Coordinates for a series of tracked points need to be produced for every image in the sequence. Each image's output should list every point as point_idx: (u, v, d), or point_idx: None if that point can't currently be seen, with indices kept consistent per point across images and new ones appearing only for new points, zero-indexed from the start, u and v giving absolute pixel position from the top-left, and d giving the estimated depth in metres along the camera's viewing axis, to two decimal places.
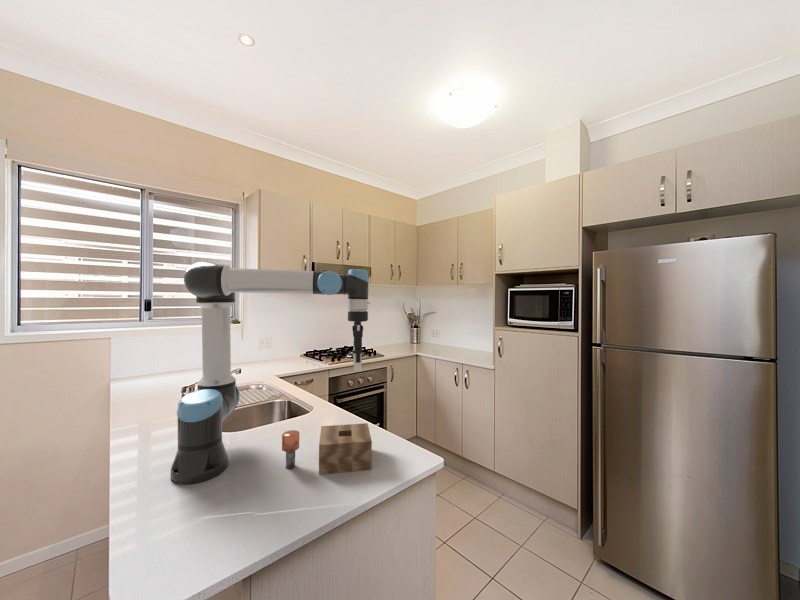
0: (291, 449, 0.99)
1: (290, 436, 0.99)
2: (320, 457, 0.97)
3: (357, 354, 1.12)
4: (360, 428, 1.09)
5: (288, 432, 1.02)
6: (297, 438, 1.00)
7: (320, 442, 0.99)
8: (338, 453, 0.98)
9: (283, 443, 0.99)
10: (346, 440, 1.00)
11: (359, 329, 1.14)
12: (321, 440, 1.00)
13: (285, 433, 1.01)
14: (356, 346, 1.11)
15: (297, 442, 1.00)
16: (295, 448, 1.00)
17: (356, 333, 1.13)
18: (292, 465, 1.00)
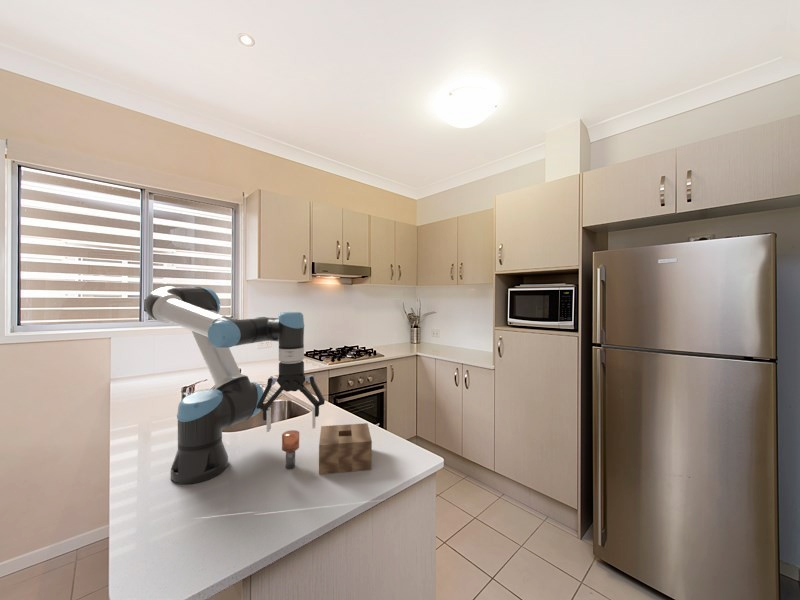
0: (291, 449, 0.99)
1: (290, 436, 0.99)
2: (320, 457, 0.97)
3: None
4: (360, 428, 1.09)
5: (288, 432, 1.02)
6: (297, 438, 1.00)
7: (320, 442, 0.99)
8: (338, 453, 0.98)
9: (283, 443, 0.99)
10: (346, 440, 1.00)
11: None
12: (321, 440, 1.00)
13: (285, 433, 1.01)
14: None
15: (297, 442, 1.00)
16: (295, 448, 1.00)
17: None
18: (292, 465, 1.00)
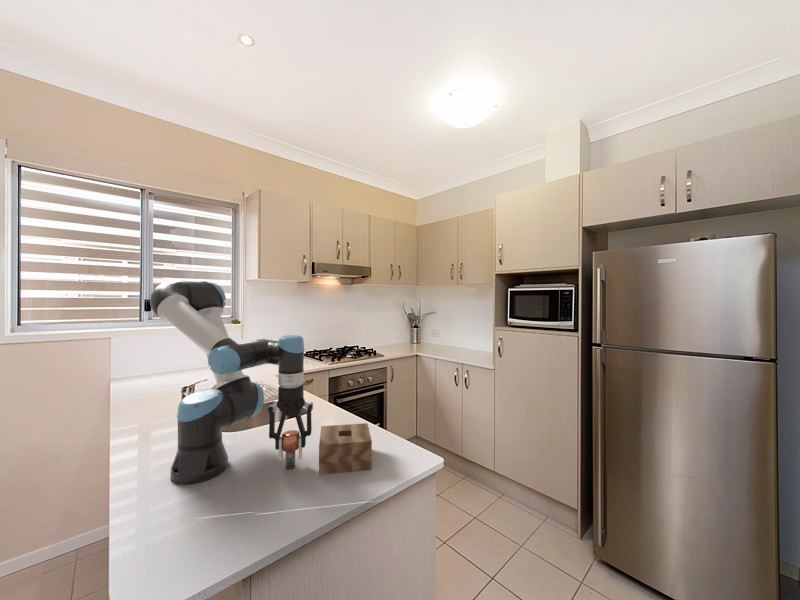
0: (291, 449, 0.99)
1: (290, 436, 0.99)
2: (320, 457, 0.97)
3: None
4: (360, 428, 1.09)
5: (288, 432, 1.02)
6: (297, 438, 1.00)
7: (320, 442, 0.99)
8: (338, 453, 0.98)
9: (283, 443, 0.99)
10: (346, 440, 1.00)
11: None
12: (321, 440, 1.00)
13: (285, 433, 1.01)
14: None
15: (297, 442, 1.00)
16: (295, 448, 1.00)
17: None
18: (292, 465, 1.00)
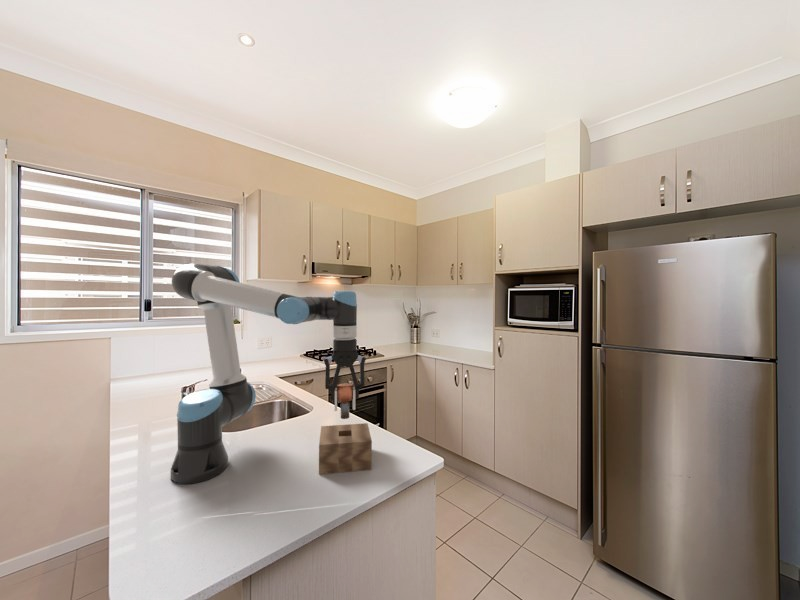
0: (346, 399, 1.03)
1: (345, 387, 1.03)
2: (320, 457, 0.97)
3: (331, 390, 1.04)
4: (360, 428, 1.09)
5: (342, 384, 1.06)
6: (352, 389, 1.04)
7: (320, 442, 0.99)
8: (338, 453, 0.98)
9: (338, 393, 1.03)
10: (346, 440, 1.00)
11: None
12: (321, 440, 1.00)
13: (339, 385, 1.05)
14: None
15: (351, 393, 1.04)
16: (350, 398, 1.03)
17: None
18: (347, 415, 1.04)
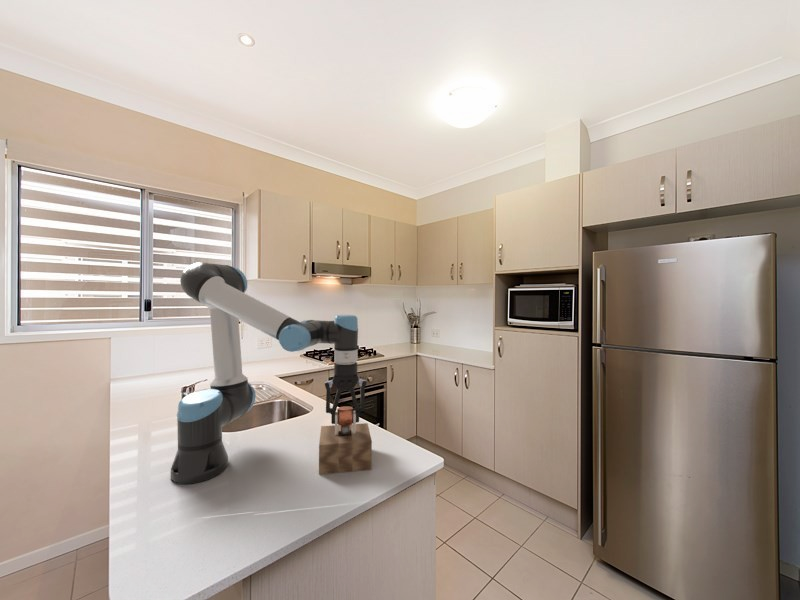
0: (347, 423, 1.03)
1: (346, 411, 1.04)
2: (320, 457, 0.97)
3: None
4: (360, 428, 1.09)
5: (342, 408, 1.06)
6: (352, 413, 1.04)
7: (320, 442, 0.99)
8: (338, 453, 0.98)
9: (339, 418, 1.03)
10: (346, 440, 1.00)
11: None
12: (321, 440, 1.00)
13: (340, 408, 1.06)
14: None
15: (352, 417, 1.05)
16: (350, 422, 1.04)
17: None
18: None
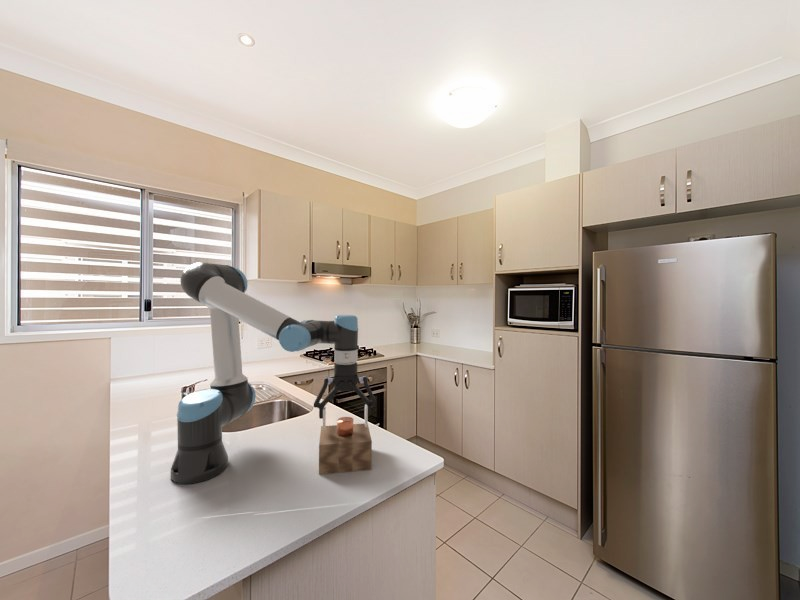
0: (347, 434, 1.03)
1: (346, 422, 1.04)
2: (320, 457, 0.97)
3: (319, 408, 1.04)
4: (360, 428, 1.09)
5: (342, 418, 1.06)
6: (352, 424, 1.05)
7: (320, 442, 0.99)
8: (338, 453, 0.98)
9: (339, 428, 1.03)
10: (346, 440, 1.00)
11: (324, 382, 1.04)
12: (321, 440, 1.00)
13: (340, 419, 1.06)
14: (316, 399, 1.04)
15: (352, 428, 1.05)
16: (350, 433, 1.04)
17: (322, 386, 1.05)
18: None
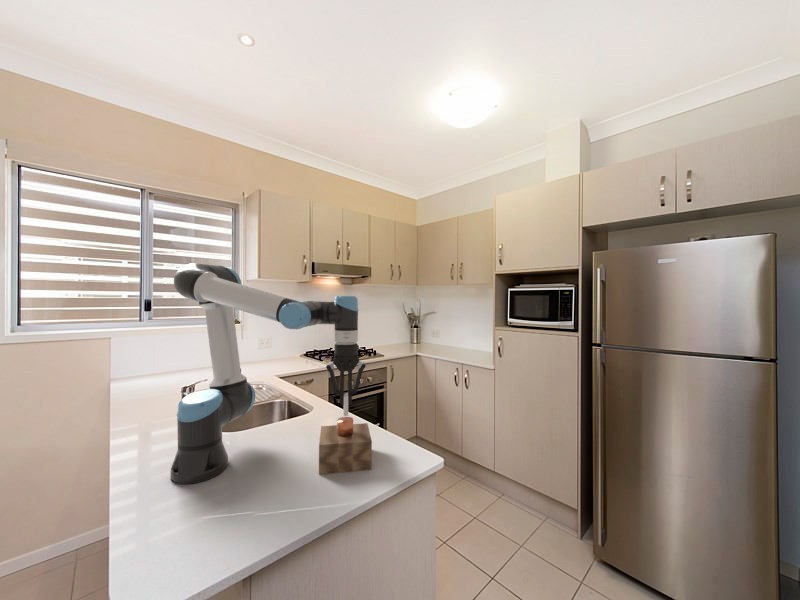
0: (347, 434, 1.03)
1: (346, 422, 1.04)
2: (320, 457, 0.97)
3: None
4: (360, 428, 1.09)
5: (342, 418, 1.06)
6: (352, 424, 1.05)
7: (320, 442, 0.99)
8: (338, 453, 0.98)
9: (339, 428, 1.03)
10: (346, 440, 1.00)
11: None
12: (321, 440, 1.00)
13: (340, 419, 1.06)
14: None
15: (352, 428, 1.05)
16: (350, 433, 1.04)
17: None
18: None
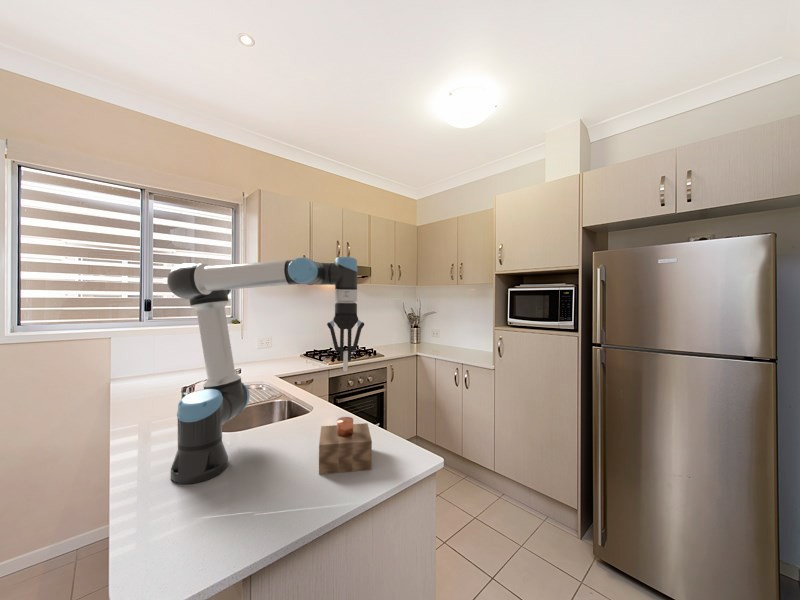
0: (347, 434, 1.03)
1: (346, 422, 1.04)
2: (320, 457, 0.97)
3: None
4: (360, 428, 1.09)
5: (342, 418, 1.06)
6: (352, 424, 1.05)
7: (320, 442, 0.99)
8: (338, 453, 0.98)
9: (339, 428, 1.03)
10: (346, 440, 1.00)
11: (329, 327, 1.09)
12: (321, 440, 1.00)
13: (340, 419, 1.06)
14: None
15: (352, 428, 1.05)
16: (350, 433, 1.04)
17: None
18: None
